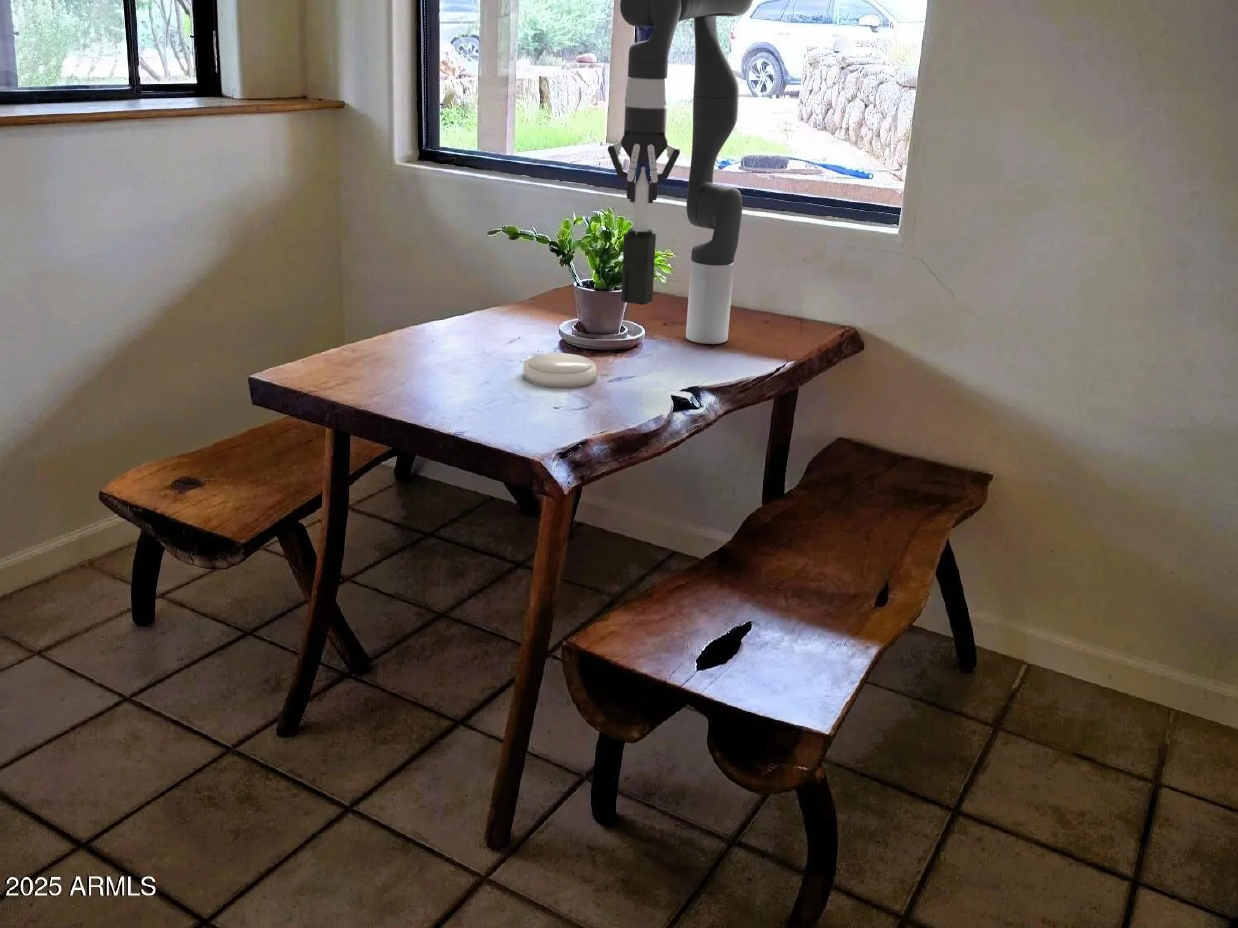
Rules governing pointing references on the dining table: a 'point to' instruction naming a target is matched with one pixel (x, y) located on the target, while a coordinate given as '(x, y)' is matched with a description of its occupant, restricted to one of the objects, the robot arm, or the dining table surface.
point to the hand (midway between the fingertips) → (641, 201)
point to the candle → (639, 249)
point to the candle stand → (559, 370)
